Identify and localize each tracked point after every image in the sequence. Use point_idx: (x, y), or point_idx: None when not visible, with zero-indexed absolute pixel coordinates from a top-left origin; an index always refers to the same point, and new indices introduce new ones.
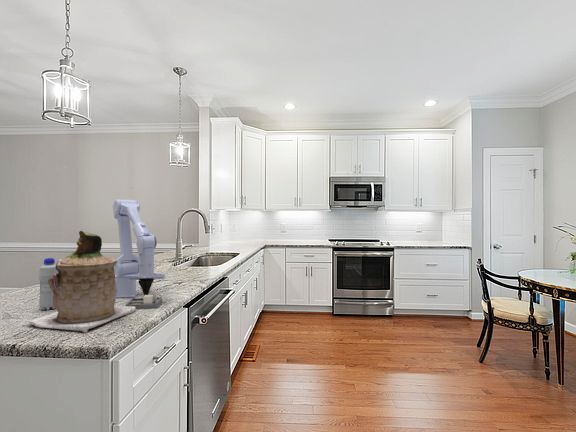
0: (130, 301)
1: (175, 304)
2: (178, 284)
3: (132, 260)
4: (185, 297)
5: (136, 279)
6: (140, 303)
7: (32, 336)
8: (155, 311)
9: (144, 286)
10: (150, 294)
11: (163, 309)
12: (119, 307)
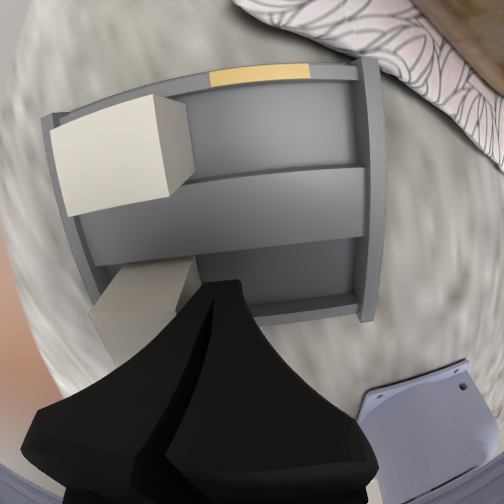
0: (368, 184)
1: (9, 231)
2: None
3: None
4: (52, 367)
5: (424, 500)
6: (211, 85)
7: None
8: (62, 39)
9: (206, 375)
10: (154, 300)
11: (26, 99)
12: (408, 48)
